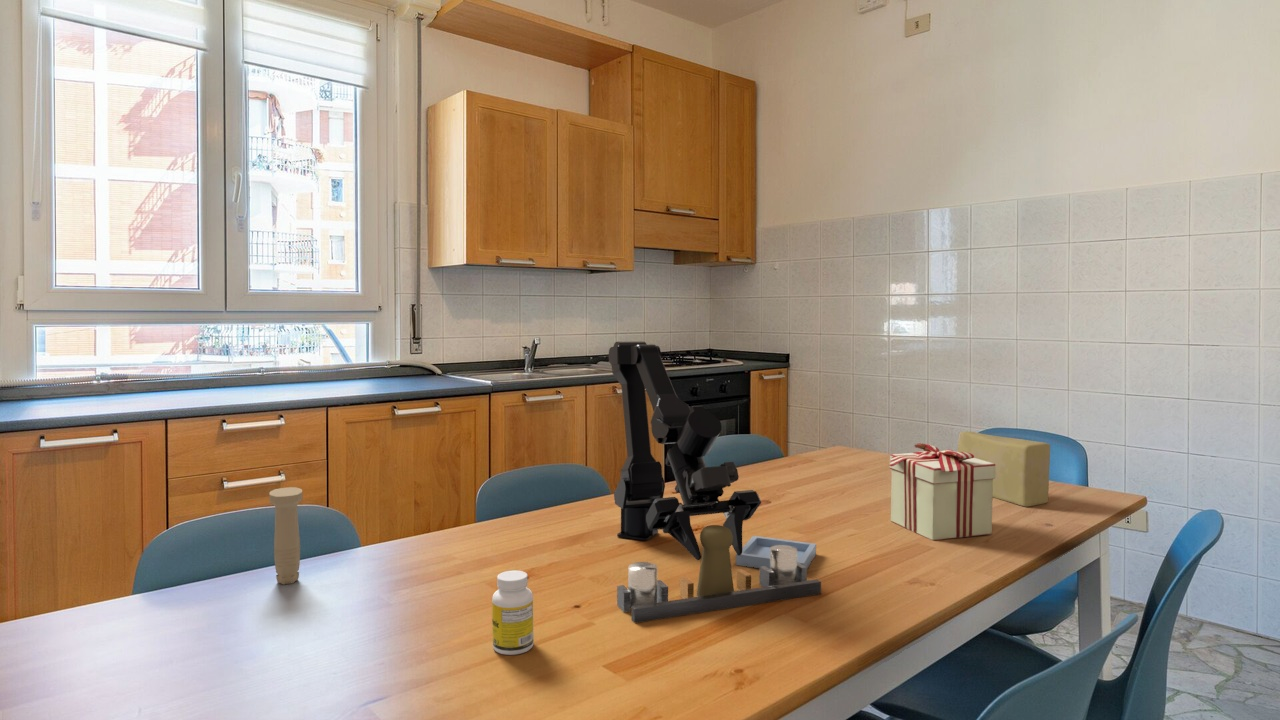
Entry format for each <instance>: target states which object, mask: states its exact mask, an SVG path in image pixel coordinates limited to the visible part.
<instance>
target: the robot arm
mask: <svg viewBox="0 0 1280 720" xmlns="http://www.w3.org/2000/svg"><path fill="white" fill-rule="evenodd" d="M661 352H662V351H661V347H660V346H659V345H656V344H650V343H649V344H647V342H645V341H615V342H614V344H613V346H611V347H609V349H608V361H609V362H608V363H610V366H611V371H612V375H613V376H614V378H615V379H616V380H617V382H618V383H619V384H620V386H621V396H622V408H623V420H624V421H623V422H624V430H625V442H626V452H627V457H626V459H625V461H624V464H623V465H622V467H621V470H620V479H619V482H618V484H617V485H616V487H615V490H614V493H613V497H614V498H613V499H614V504H615V505H616V506H618V507H619V508H620V532H618V533H617V537H619V538H624V539H632V540H639V541H648V540H649V539H651V538H652V537H654V536H655V535H656V534H658V533H659V531H660V530H662V533H664V534H669V536H671V537H672V538H673V539H674V540H676V541H677V542H678V544H679V543H680V544H681V545H682V546H683V548H685V550H686V551H687V552H688V553H689V554H690V555H692V557H693V558H694V559H695V560H696V561H701V560H702V553H701V550H700V546H699V543H698V541H697V538H696V536H695V533H694V531H693V528H692V525H691V517H694V516H703V515H704V516H705V515H713V514H723V515H724V518H725V521H724V522H723V524H722V526H725V527H727V528H729V529H730V530H731V532H732V535H733V542H732V545H731V546H732V548H733V550H734V552H735V554H736V553H737V555H741V554H742V547H743V522H744V521H747V520H750V519H751V518H752V516H753V515H754V514H755V512H756V511H757V509H758V508H759V507H760V505H761V504H762V500H761V497H760V495H759V493H758V492H757V491H755V490H754V489H748V490H738V491H737V490H735V491H733V493H732V494H731V496H730V497H729V499H728V500H719V497H722V496H723V495H724V493H725V491H724V488H726V487H731V484H733V483H735V482H737V481H739V477H740V476H739V472H738V469H737V466H736V464H735V462H734V461H728V462H724V463H721V464H720V465H719V466H707V465H706V462H705V459H704V457H705V456H706V455H708V453H710V451H711V449H712V448H713V446H714V444H715V442H716V441H717V439H718V437H719V435H720V434H721V431H722V429H723V428H722V422H721V420H720V419H718V418H717V417H716V416H715V415H714V414H713V413H711V412H709V411H707V410H705V408H704V406H703V405H693V406H691V407H690V406H689V404H687V402H686V401H683V400H682V399H680V398H679V397H678V395H677V394H676V391H675V389H674V387H673V384H672V381H671V379H670V377H669V374H668V371H667V370H666V367H665V364H664V362H663V360H662V353H661ZM646 394H647V395H646ZM647 398H648V399H649V402H650V405H651V407H652V411H653V412H652V413H653V414H652V416H651V419H650V426H651V428H649V418H648V415H649V414H648V407H647ZM650 430H651V434H652V437H653V438H654V439H655V442H657V443H658V444H662V445H668V444H672V445H670V447H669V449H668V450H667V454H666V457H665V461H664V463H665V465H666V466H670V468H671V471H672V474H673V476H674V480H675V483H676V485H675V487H674V490H675V494H679V495H680V499H681V501H682V502H680V501H679V498H677V497H676V496H669V497H664V494H665V489H666V488H665V487H666V482H665V480H664V477H663V470H662V468H663V466H662V464H661V462H660V461H658V460H656V459H655V457H654V456H653V454H652V452H651V451H652V450H651V438H650Z"/></svg>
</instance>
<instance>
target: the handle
mask: <svg viewBox="0 0 1280 720" xmlns="http://www.w3.org/2000/svg"><path fill="white" fill-rule="evenodd" d="M301 501H303V489H302V488H299V487H294V486H291V487H280V488H276V489H275V488H274V489H272V490H270V491H269V503H270V505H273V506H274V511H275V512H274V513H275V514H274V537H273V538H274V539H273V550H274V551H273V556H274V558H273V559H274V568H275V572H276V575H275V578H276V582H277V584H281V585H287V584H294V583H295V582H297V581H298V580H299V578H300V572H299V570H300V565H301V564H300V562H301V543H300V542H301V539H300V527H299V517H298V516H299V514H298V504H299V503H301Z"/></svg>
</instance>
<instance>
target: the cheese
mask: <svg viewBox="0 0 1280 720" xmlns="http://www.w3.org/2000/svg"><path fill="white" fill-rule="evenodd" d="M956 452H966V453H971V454H973V455H974V457H973V458H977V459H980V460H984V461H987V462H991V463H994V464H995V465H996V467H995V479H993V498H994V499H997V500H1002V501H1005V502H1008V503H1011V504H1015V505H1018V506H1021V507H1024V508H1025V507H1026V508H1029V507H1035V506H1039V505H1044V504H1047V503H1048V501H1049V491H1050V490H1049V489H1050V487H1049V485H1050V465H1051V464H1050V463H1051V462H1050V461H1051V444H1050V443H1048V442H1045V441H1044V442H1042V441H1035V440H1030V439H1029V440H1027V439H1021V438H1014V437H1006V436H998V435H991V434H986V433H980V432H975V431H968V430H967V431H961V432H959V436H958V444H957V451H956Z"/></svg>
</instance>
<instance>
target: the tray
mask: <svg viewBox="0 0 1280 720" xmlns="http://www.w3.org/2000/svg"><path fill="white" fill-rule="evenodd" d="M775 545H787V546H792V547H795V548H796V549H797V562H798V563H800V564H802V565H804V566H806V567H807V569H808V568H809V566H810V565H811V563H812V562H813V560H814V559H813V558H816V555H817V543H811V542H805V541H798V540H791V539H782V538H773V537H767V536H766V537H765V536H758V535H752V537H751V538H750V539H749V540H748V541H747V542H746V543H745V544H744V545H742V554H741V555H737V553H736V552H735V566H739V567H746V566H747V567H748V568H753V567H754V568H755V569H760V567H761V566H766V567H767V568H769V569H770V547H772V546H775ZM811 561H812V562H811Z"/></svg>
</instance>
